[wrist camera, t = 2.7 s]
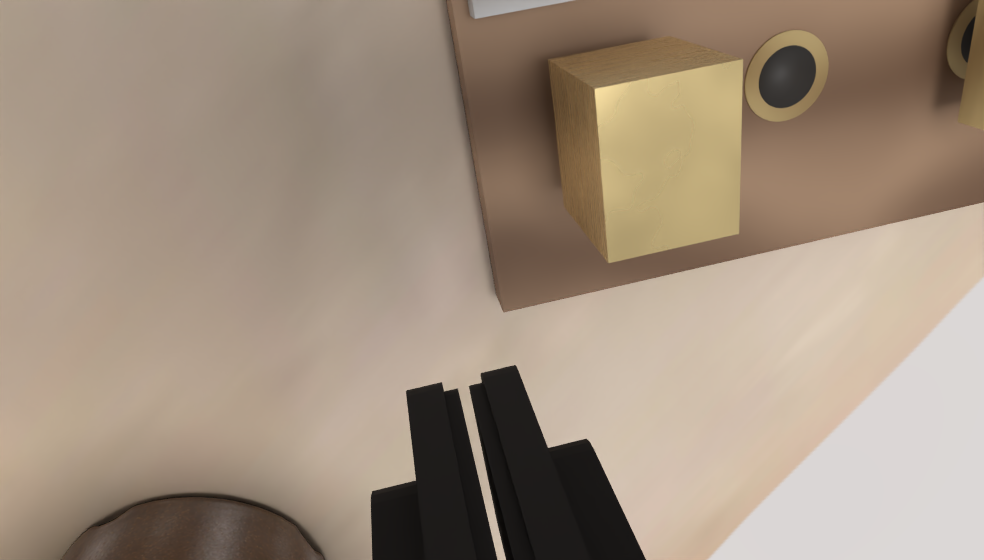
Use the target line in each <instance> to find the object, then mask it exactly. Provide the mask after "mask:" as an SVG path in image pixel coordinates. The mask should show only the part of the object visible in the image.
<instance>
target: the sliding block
mask: <svg viewBox="0 0 984 560" xmlns="http://www.w3.org/2000/svg"><path fill="white" fill-rule="evenodd" d="M548 64H549V74H550V83H551V92H552V101H553V110H554V120H555V129H556V138H557V147H558V157H559V166H560V175H561V184H562V193H563V203H564V208H565V209H566V210H567V212H568V213H569V214H570V215H571V217H572V218H573V219H574V220H575V222H576V223H577V224H578V225H579V227H580V228H581V229H582V231H583V232H584V233H585V234H586V236H587V237H588V238H589V239H590V241H591V242H592V243H593V244H594V246H595V247H596V248H597V249H598V251H599V252H600V253H601V255H602V256H603V257H604V258H605V260H606V261H607V262H608V263H612V262H616V261H621V260H625V259H630V258H634V257H638V256H643V255H647V254H652V253H656V252H661V251H665V250H669V249H674V248H678V247H683V246H687V245H692V244H696V243H700V242H705V241H709V240H714V239H718V238H723V237H727V236H731V235H736V234H739V216H740V173H741V129H742V86H743V59H741V58H738V57H735V56H732V55H728V54H725V53H722V52H719V51H716V50H713V49H709V48H706V47H703V46H700V45H697V44H694V43H691V42H687V41H684V40H681V39H678V38H675V37H672V36H666V37H661V38H656V39H651V40H646V41H640V42H635V43H630V44H625V45H620V46H615V47H610V48H604V49H599V50H594V51H589V52H584V53H579V54H574V55H569V56H563V57H558V58H553V59H548Z"/></svg>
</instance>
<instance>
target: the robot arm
mask: <svg viewBox="0 0 984 560" xmlns="http://www.w3.org/2000/svg"><path fill="white" fill-rule="evenodd" d="M481 379H482V383H479V384H475V385H471V386H469V389H470V394H471V399H472V403H473V408H474V413H475V418H476V423H477V427H478V432H479V437H480V442H481V447H482V451H483V456H484V461H485V466H486V471H487V475H488V480H489V485H490V490H491V495H492V500H493V504H494V509H495V514H496V519H497V523H498V527H499V532H500V536H501V540H502V544H503V548H504V552H505V556H506V560H646V559H645V557H644V555H643V553H642V550H641V548H640V546H639V544H638V542H637V540H636V538H635V536H634V533H633V531H632V529H631V527H630V525H629V523H628V521H627V519H626V517H625V514H624V512H623V510H622V508H621V506H620V504H619V502H618V500H617V497H616V495H615V493H614V491H613V489H612V487H611V485H610V483H609V481H608V478H607V476H606V474H605V472H604V470H603V468H602V466H601V464H600V461H599V459H598V457H597V455H596V453H595V451H594V449H593V447H592V445H591V443H590V442H589V441H588V440H587V439H583V440H579V441H575V442H571V443H567V444H563V445H559V446H555V447H551V448H548V447H547V445H546V442H545V439H544V437H543V434H542V431H541V429H540V426H539V424H538V421H537V418H536V416H535V413H534V411H533V408H532V405H531V403H530V400H529V397H528V395H527V392H526V390H525V387H524V384H523V382H522V379H521V377H520V374H519V371H518V369H517V367H516V365H514V366H510V367H505V368H501V369H497V370H492V371H488V372H484V373H481ZM406 395H407V404H408V413H409V422H410V430H411V439H412V448H413V457H414V465H415V474H416V481H412V482H408V483H404V484H400V485H396V486H392V487H388V488H384V489H380V490H376V491H372V494H371V524H372V559H373V560H497V556H496V552H495V548H494V543H493V539H492V535H491V530H490V526H489V522H488V517H487V513H486V509H485V504H484V500H483V496H482V491H481V487H480V483H479V478H478V474H477V470H476V465H475V461H474V457H473V452H472V448H471V444H470V439H469V435H468V431H467V426H466V422H465V418H464V413H463V409H462V405H461V400H460V396H459V392H458V389H454V390H449V391H445V392H444V389H443V385H442V382H441V383H437V384H432V385H428V386H424V387H420V388H415V389H411V390H407V391H406Z"/></svg>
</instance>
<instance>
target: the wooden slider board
mask: <svg viewBox="0 0 984 560" xmlns="http://www.w3.org/2000/svg"><path fill="white" fill-rule="evenodd" d="M446 2H447V8H448V14H449V20H450V26H451V32H452V37H453V43H454V49H455V55H456V61H457V67H458V73H459V79H460V84H461V90H462V96H463V102H464V108H465V114H466V120H467V126H468V131H469V137H470V143H471V149H472V155H473V161H474V167H475V173H476V178H477V184H478V190H479V196H480V202H481V208H482V214H483V220H484V225H485V231H486V237H487V243H488V249H489V255H490V261H491V267H492V272H493V278H494V284H495V290H496V295H497V298H498V300H499V302H500V305H501V307H502V310H503V312H507V311H512V310H516V309H521V308H525V307H529V306H534V305H538V304H542V303H547V302H551V301H555V300H560V299H564V298H568V297H573V296H577V295H582V294H586V293H590V292H595V291H599V290H603V289H608V288H612V287H616V286H621V285H625V284H629V283H634V282H638V281H643V280H647V279H651V278H656V277H660V276H664V275H669V274H673V273H677V272H682V271H686V270H690V269H695V268H699V267H704V266H708V265H712V264H717V263H721V262H725V261H730V260H734V259H738V258H743V257H747V256H751V255H756V254H760V253H764V252H769V251H773V250H778V249H782V248H786V247H791V246H795V245H799V244H804V243H808V242H812V241H817V240H821V239H825V238H830V237H834V236H839V235H843V234H847V233H852V232H856V231H860V230H865V229H869V228H873V227H878V226H882V225H886V224H891V223H895V222H900V221H904V220H908V219H913V218H917V217H921V216H926V215H930V214H934V213H939V212H943V211H947V210H952V209H956V208H960V207H965V206H969V205H974V204H978V203H982V202H984V0H446ZM666 36H672V37H675V38H678V39H681V40H684V41H687V42H691V43H694V44H697V45H700V46H703V47H706V48H709V49H713V50H716V51H719V52H722V53H725V54H728V55H732V56H735V57H738V58H741V59H743V86H742V129H741V173H740V216H739V234H736V235H731V236H727V237H723V238H718V239H714V240H709V241H705V242H700V243H696V244H692V245H687V246H683V247H678V248H674V249H669V250H665V251H661V252H656V253H652V254H647V255H643V256H638V257H634V258H630V259H625V260H621V261H616V262H612V263H608V262H607V261H606V260H605V258H604V257H603V256H602V255H601V253H600V252H599V251H598V249H597V248H596V247H595V246H594V244H593V243H592V242H591V241H590V239H589V238H588V237H587V236H586V234H585V233H584V232H583V231H582V229H581V228H580V227H579V225H578V224H577V223H576V222H575V220H574V219H573V218H572V217H571V215H570V214H569V213H568V212H567V210H566V209H565V208H564V203H563V193H562V184H561V175H560V166H559V157H558V147H557V138H556V129H555V120H554V110H553V101H552V92H551V83H550V74H549V64H548V59H553V58H558V57H563V56H569V55H574V54H579V53H584V52H589V51H594V50H599V49H604V48H610V47H615V46H620V45H625V44H630V43H635V42H640V41H646V40H651V39H656V38H661V37H666Z"/></svg>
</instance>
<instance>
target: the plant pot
mask: <svg viewBox="0 0 984 560" xmlns="http://www.w3.org/2000/svg"><path fill="white" fill-rule="evenodd" d="M61 560H324V558H323V556H322V554H321V553H320V552H315V551H314V550H313V548H312V547H311V546H310V545H309V544H308V542H307V541H306V540H305V538H304V537H303V536H302V534H301V533H300V531H299V530H298V528H297V526H295V525H294V524H292V523H291V522H289V521H287V520H286V519H284V518H283V517H281V516H279V515H276V514H274V513H272V512H269V511H267V510H265V509H262V508H259V507H256V506H253V505H249V504H245V503H241V502H237V501H231V500H226V499H217V498H204V497H184V498H171V499H164V500H157V501H151V502H148V503H144V504H140V505H137V506H134V507H132V508H130V509H129V510H128V511H126V512H125V513H123V514H122V515H121V516H119V517H118V518H116V519H115V520H113V521H110V522H108V523H106V524H104V525H102V526H99V527H97V526H95V527H91V528H90V529H88V530H87V531H86V532H85V533H84V534H82V535H81V536H80V537H79V538H78V539H77V540H76V541H75V542H74V543H73V545H72V546H71V547H70V548H69V550H68V551H67V552H66V553H65V555H64V556H63V557H62V559H61Z"/></svg>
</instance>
